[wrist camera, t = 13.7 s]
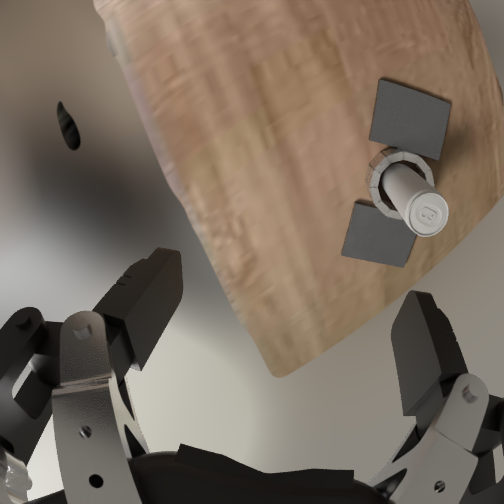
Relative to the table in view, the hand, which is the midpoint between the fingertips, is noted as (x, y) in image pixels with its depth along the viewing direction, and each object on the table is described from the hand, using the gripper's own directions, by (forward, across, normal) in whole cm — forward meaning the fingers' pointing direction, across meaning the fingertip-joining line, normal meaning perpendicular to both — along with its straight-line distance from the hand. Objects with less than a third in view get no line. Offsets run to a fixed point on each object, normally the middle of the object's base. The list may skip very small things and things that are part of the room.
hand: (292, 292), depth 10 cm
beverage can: (+29, -13, +2) cm, 32 cm away
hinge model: (+29, -12, +2) cm, 32 cm away
